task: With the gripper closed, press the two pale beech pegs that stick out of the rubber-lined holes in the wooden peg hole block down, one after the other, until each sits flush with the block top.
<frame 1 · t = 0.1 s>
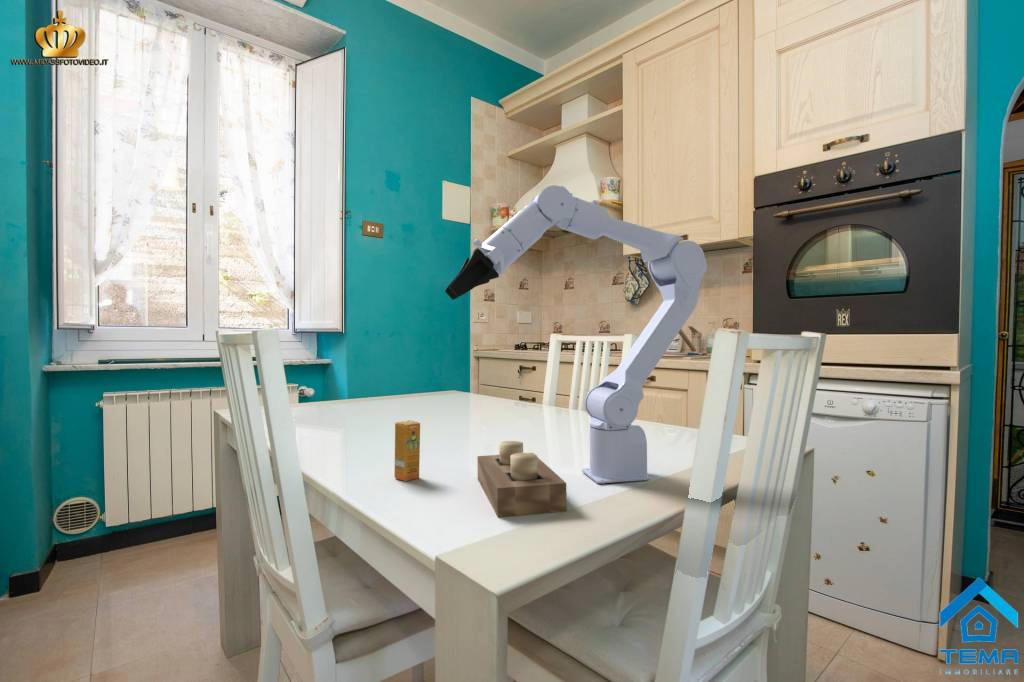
hand: (451, 294, 82), 32 cm above the table, tool tilted 50°, fingers open, 7 cm apart
peg 1: (511, 455, 84), point 5 cm above the table, slide at 0.0 cm
peg 2: (523, 468, 75), point 5 cm above the table, slide at 0.0 cm
wooden peg hole block: (517, 493, 80), on the table
supplement box: (407, 479, 89), on the table
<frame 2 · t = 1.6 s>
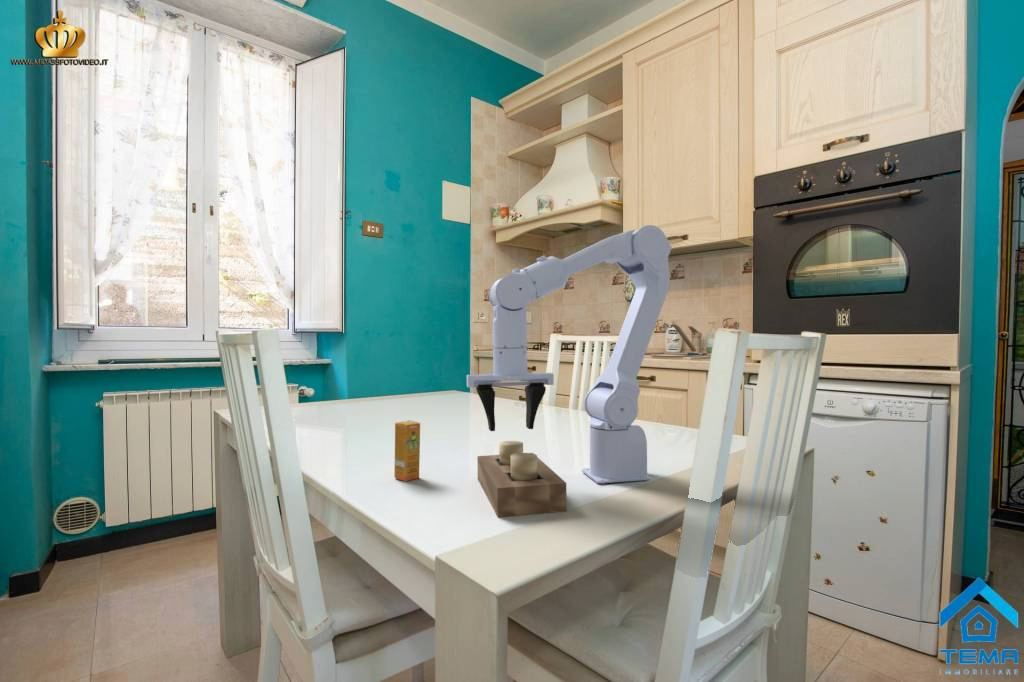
hand: (510, 429, 84), 9 cm above the table, tool pointing down, fingers open, 6 cm apart
nothing on the table moved.
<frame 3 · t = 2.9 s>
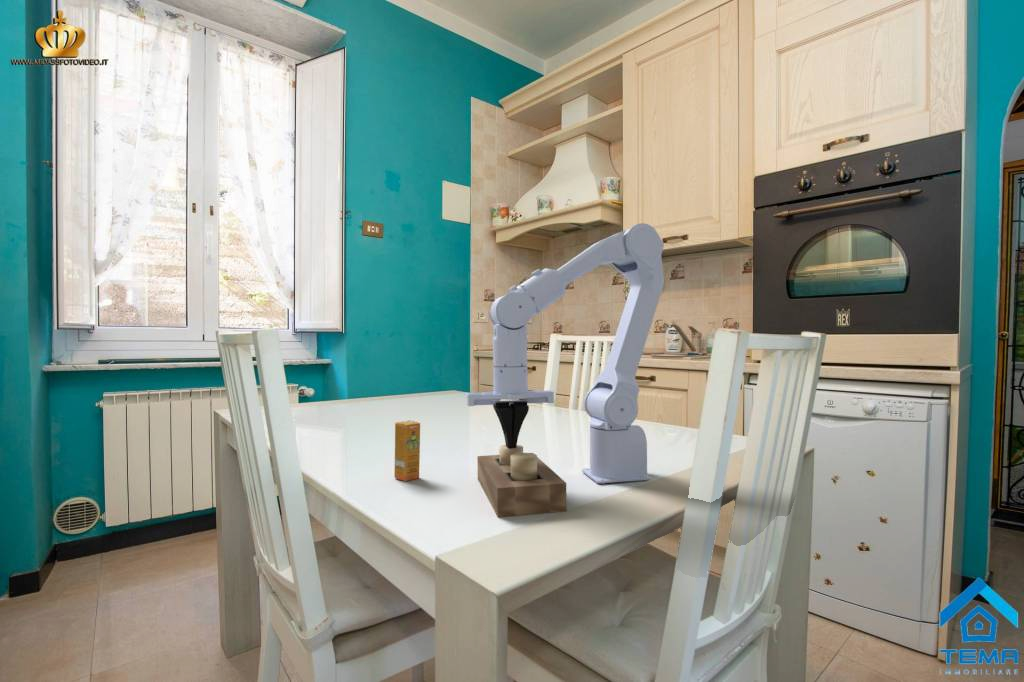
hand: (511, 447, 84), 6 cm above the table, tool pointing down, fingers closed, pressing on peg 1
peg 1: (511, 458, 84), point 4 cm above the table, slide at 0.6 cm, touching gripper
everything else where it was.
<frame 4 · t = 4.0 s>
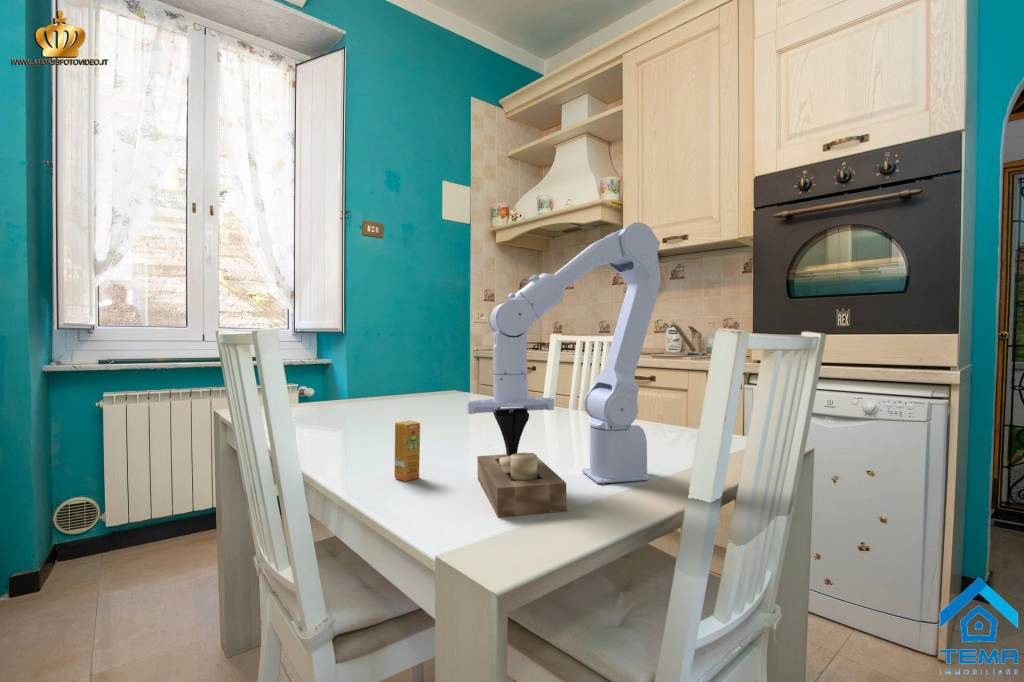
hand: (511, 454, 84), 5 cm above the table, tool pointing down, fingers closed
peg 1: (511, 470, 84), point 2 cm above the table, slide at 2.6 cm
everything else where it was.
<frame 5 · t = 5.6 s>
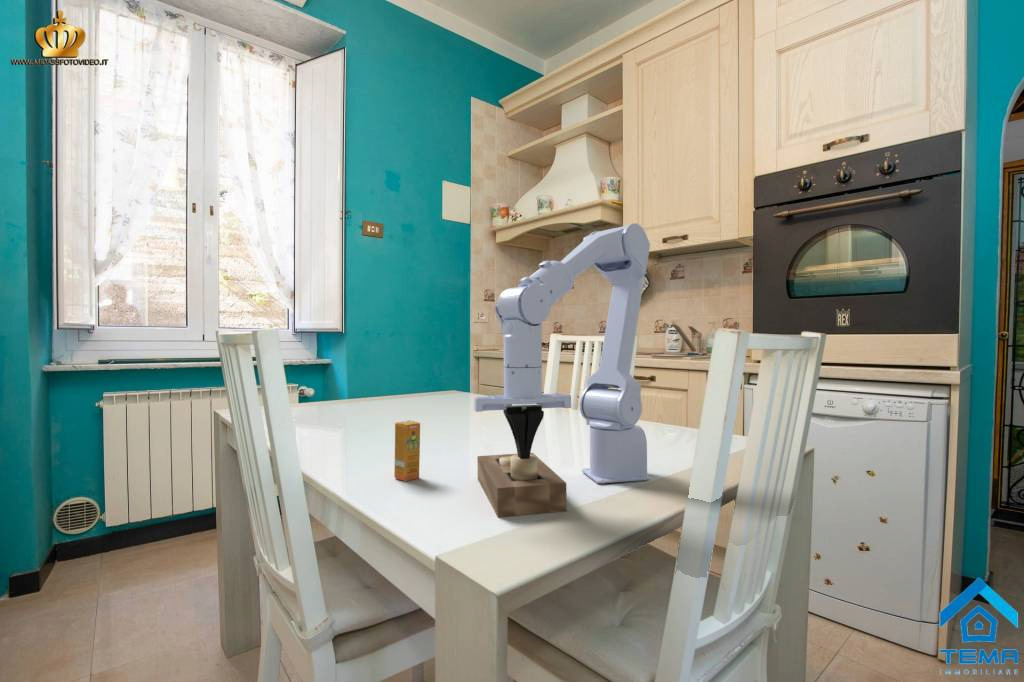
hand: (523, 457, 75), 7 cm above the table, tool pointing down, fingers closed, pressing on peg 2
peg 2: (523, 470, 75), point 5 cm above the table, slide at 0.2 cm, touching gripper
everything else where it was.
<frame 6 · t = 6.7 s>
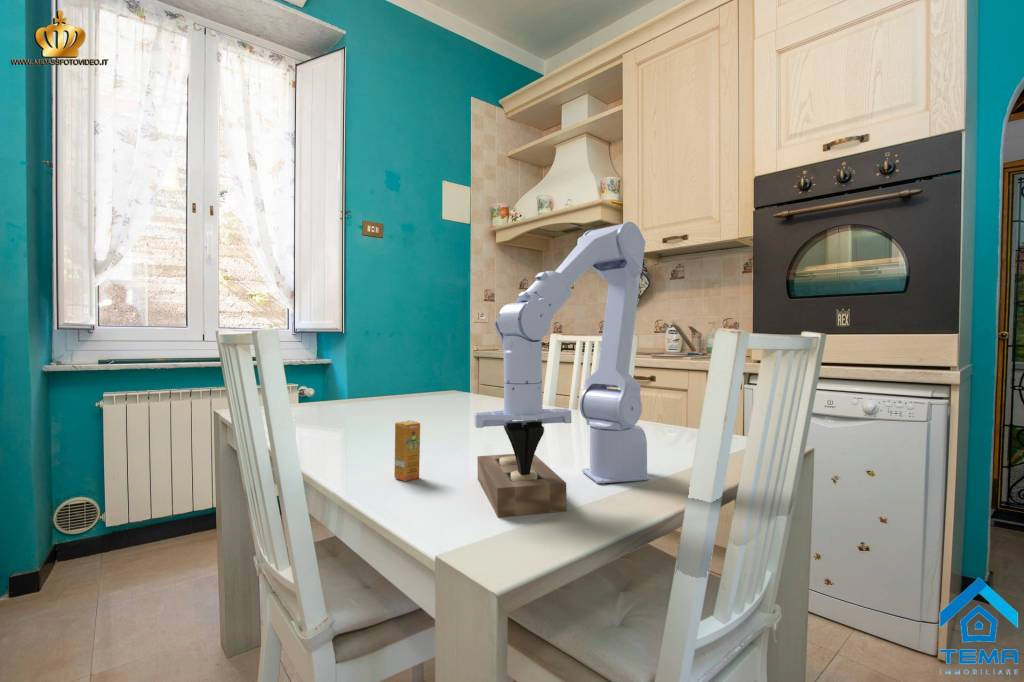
hand: (524, 472, 75), 4 cm above the table, tool pointing down, fingers closed
peg 2: (524, 486, 75), point 2 cm above the table, slide at 2.6 cm
everything else where it was.
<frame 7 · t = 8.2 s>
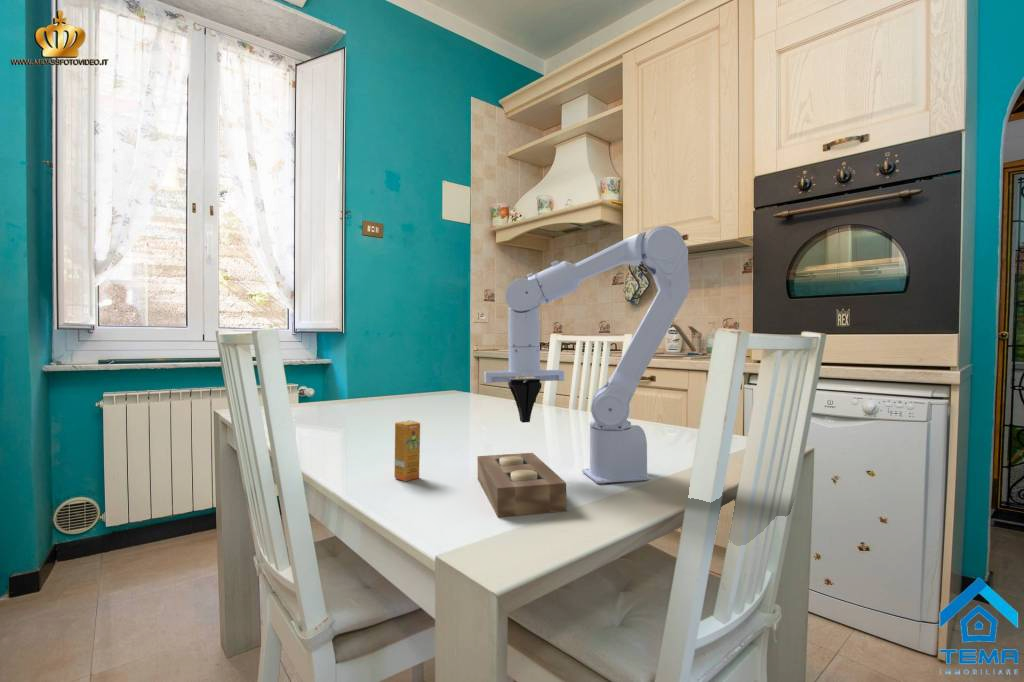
hand: (524, 421, 91), 9 cm above the table, tool pointing down, fingers closed
nothing on the table moved.
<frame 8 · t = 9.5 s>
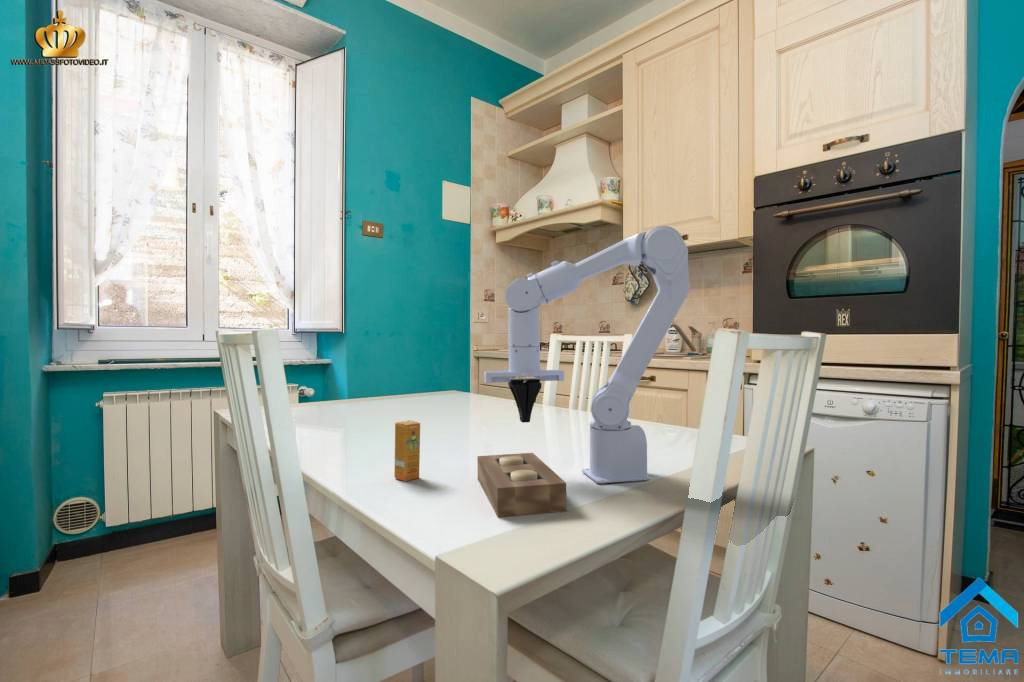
hand: (524, 421, 91), 9 cm above the table, tool pointing down, fingers closed
nothing on the table moved.
at the end: peg 1 slide at 2.6 cm; peg 2 slide at 2.6 cm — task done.
